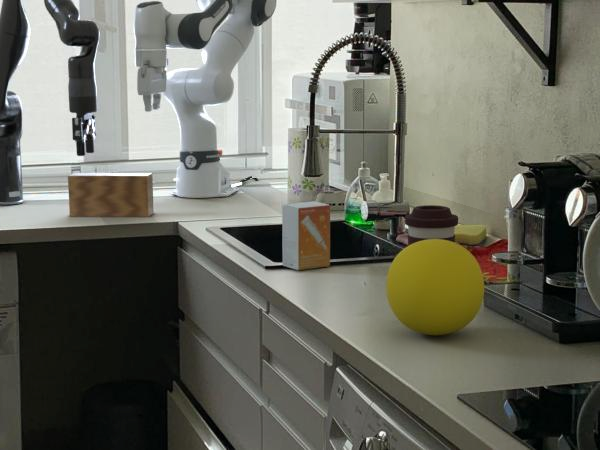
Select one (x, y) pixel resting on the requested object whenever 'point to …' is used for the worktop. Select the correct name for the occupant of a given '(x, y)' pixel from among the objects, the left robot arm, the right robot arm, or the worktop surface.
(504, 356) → the worktop surface
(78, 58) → the left robot arm
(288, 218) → the small box
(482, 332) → the worktop surface
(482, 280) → the toy
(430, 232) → the coffee cup
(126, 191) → the box
